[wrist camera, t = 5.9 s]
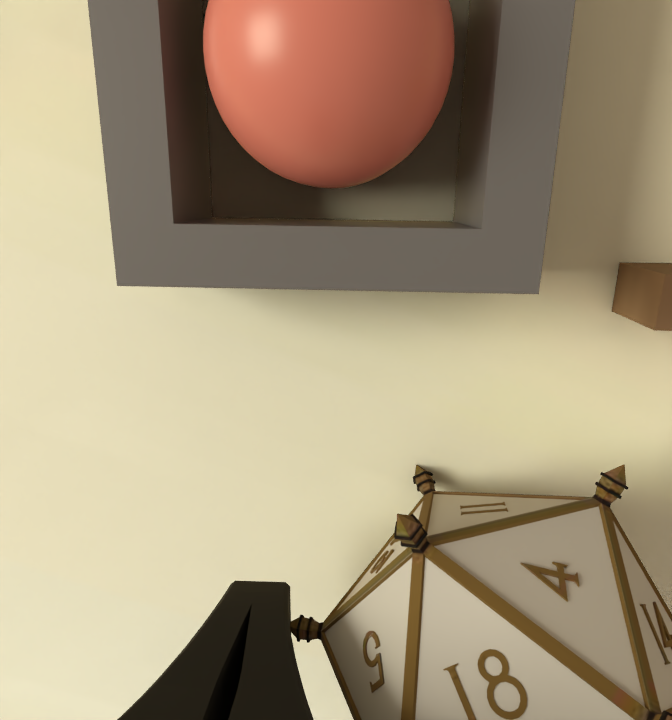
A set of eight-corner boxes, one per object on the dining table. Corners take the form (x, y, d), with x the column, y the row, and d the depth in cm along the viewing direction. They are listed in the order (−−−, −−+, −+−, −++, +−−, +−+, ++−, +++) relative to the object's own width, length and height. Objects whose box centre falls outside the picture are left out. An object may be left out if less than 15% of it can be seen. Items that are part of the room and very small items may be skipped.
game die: (454, 429, 19) (727, 341, 9) (584, 663, 18) (1035, 823, 8) (213, 571, 15) (269, 650, 6) (356, 868, 14) (682, 1503, 5)
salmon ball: (428, 190, 12) (467, 188, 8) (236, 187, 13) (178, 183, 8) (442, -35, 11) (496, -174, 7) (228, -36, 11) (154, -174, 7)
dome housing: (498, 272, 13) (538, 294, 10) (166, 266, 13) (117, 286, 11) (539, -136, 11) (607, -254, 8) (136, -137, 11) (61, -253, 8)
